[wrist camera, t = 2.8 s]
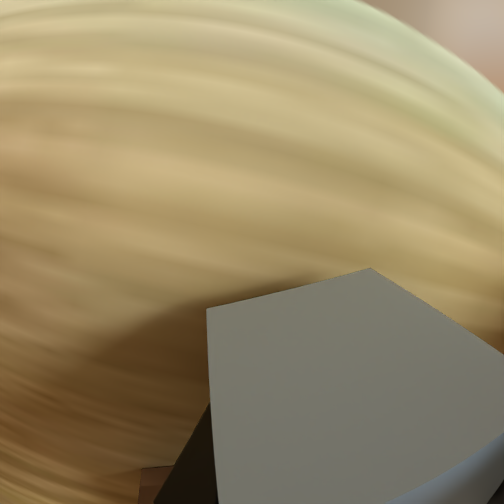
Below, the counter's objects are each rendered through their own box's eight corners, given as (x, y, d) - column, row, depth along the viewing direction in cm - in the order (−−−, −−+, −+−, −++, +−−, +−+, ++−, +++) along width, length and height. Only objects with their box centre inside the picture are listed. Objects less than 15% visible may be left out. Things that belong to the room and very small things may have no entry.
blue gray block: (369, 268, 8) (551, 389, 2) (372, 391, 9) (470, 523, 4) (206, 309, 8) (224, 546, 2) (242, 429, 9) (280, 601, 3)
